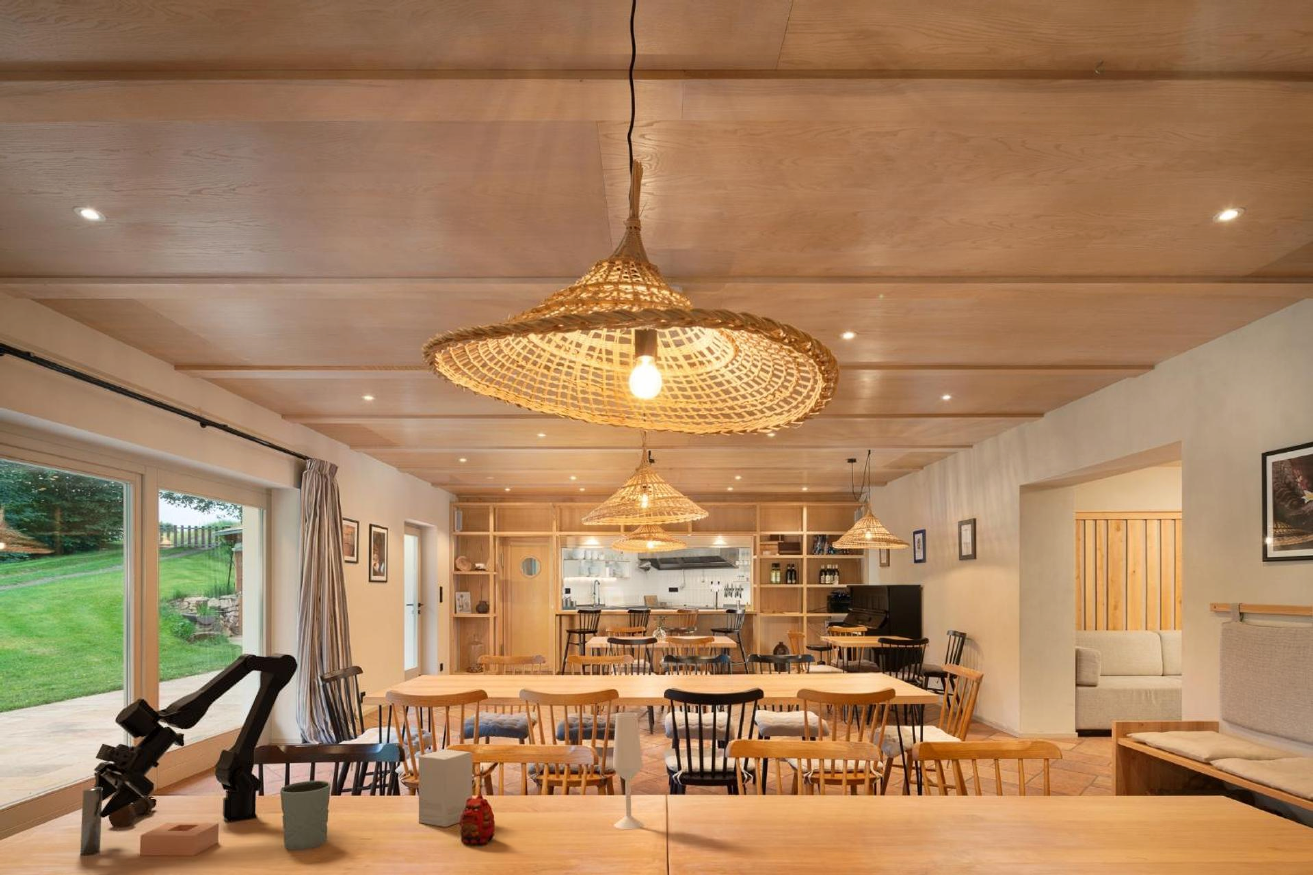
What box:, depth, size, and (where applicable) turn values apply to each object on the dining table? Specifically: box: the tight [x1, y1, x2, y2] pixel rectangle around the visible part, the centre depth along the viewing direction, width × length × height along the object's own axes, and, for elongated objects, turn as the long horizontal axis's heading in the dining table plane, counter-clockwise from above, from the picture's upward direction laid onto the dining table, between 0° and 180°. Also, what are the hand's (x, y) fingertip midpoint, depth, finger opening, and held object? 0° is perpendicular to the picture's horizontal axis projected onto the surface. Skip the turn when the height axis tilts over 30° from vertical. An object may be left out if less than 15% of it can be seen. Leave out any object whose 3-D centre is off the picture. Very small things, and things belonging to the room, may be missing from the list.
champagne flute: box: [612, 712, 645, 830], centre depth 213 cm, size 7×7×24 cm
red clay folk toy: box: [459, 765, 496, 846], centre depth 203 cm, size 8×7×15 cm
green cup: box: [279, 780, 332, 851], centre depth 204 cm, size 10×10×12 cm
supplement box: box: [418, 748, 473, 828], centre depth 220 cm, size 9×9×15 cm
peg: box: [79, 786, 103, 856], centre depth 202 cm, size 4×4×13 cm
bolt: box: [107, 795, 158, 828], centre depth 228 cm, size 6×5×15 cm
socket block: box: [139, 822, 220, 857], centre depth 203 cm, size 9×12×4 cm
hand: (92, 813), depth 202 cm, fingers open, 9 cm apart
